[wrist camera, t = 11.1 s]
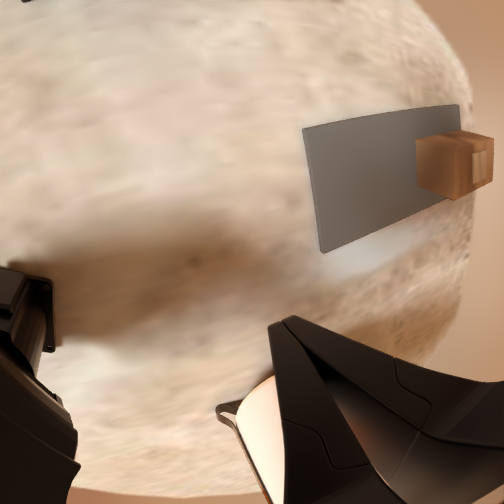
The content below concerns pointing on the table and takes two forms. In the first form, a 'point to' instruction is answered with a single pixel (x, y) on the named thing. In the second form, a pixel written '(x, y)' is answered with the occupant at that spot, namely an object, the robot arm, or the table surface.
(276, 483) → the coffee press
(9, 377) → the robot arm
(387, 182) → the mat
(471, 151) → the brown rectangular block
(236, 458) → the table surface
